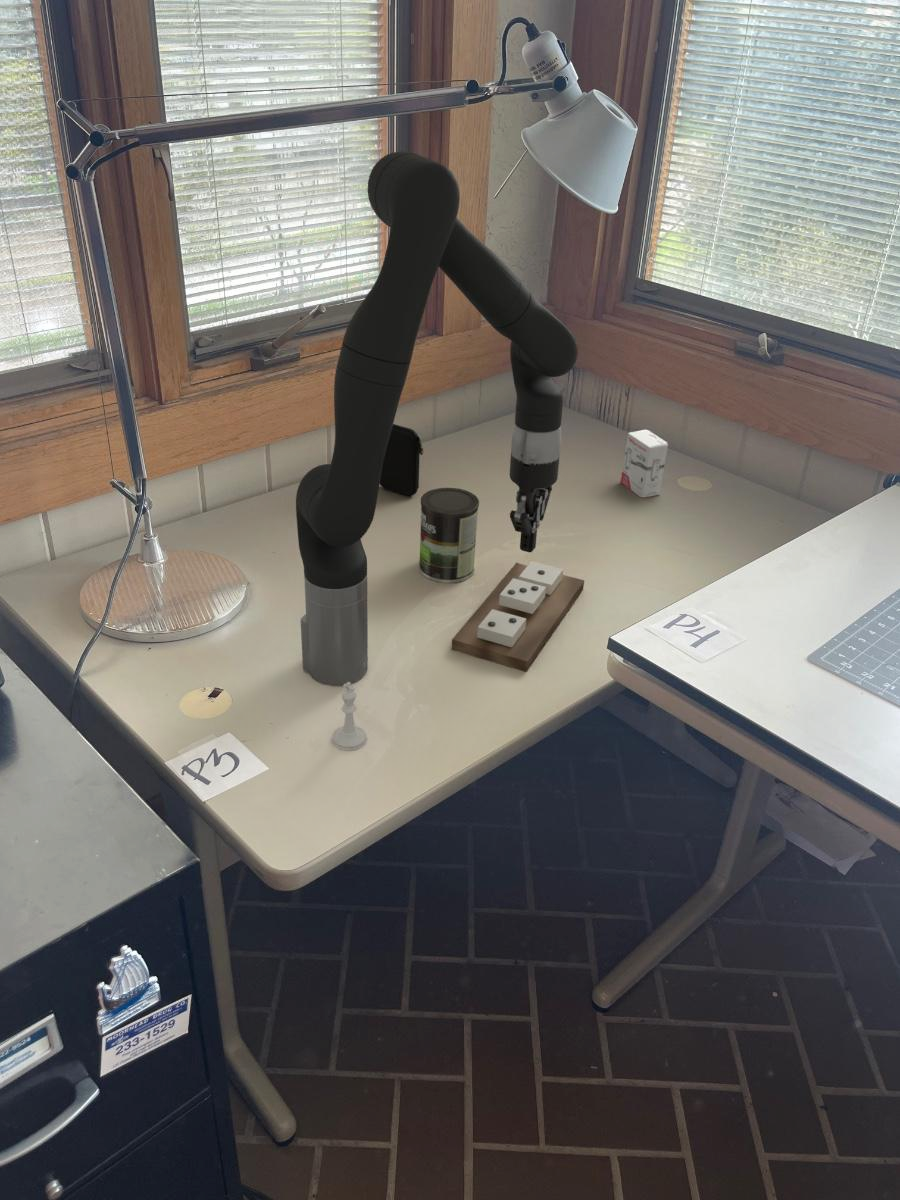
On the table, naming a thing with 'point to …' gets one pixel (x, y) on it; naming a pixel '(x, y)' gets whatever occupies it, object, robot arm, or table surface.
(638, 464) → the ink box
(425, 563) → the coffee can
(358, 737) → the chess piece
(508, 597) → the tile three
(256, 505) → the table surface
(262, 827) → the table surface
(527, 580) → the tile one
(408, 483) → the carrying case or bag
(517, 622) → the tile two
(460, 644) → the tile board
